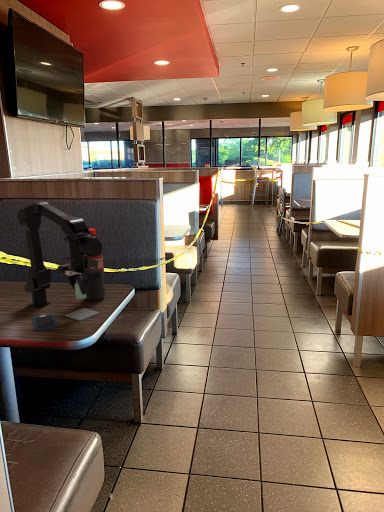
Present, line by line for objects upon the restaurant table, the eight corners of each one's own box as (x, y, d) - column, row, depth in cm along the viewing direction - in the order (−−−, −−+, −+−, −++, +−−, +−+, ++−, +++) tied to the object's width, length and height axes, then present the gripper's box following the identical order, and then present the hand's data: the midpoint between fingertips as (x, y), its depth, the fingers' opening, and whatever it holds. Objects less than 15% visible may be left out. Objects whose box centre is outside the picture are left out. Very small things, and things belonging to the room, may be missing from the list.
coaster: (65, 316, 149) (65, 314, 149) (84, 309, 156) (84, 307, 156) (80, 321, 144) (80, 319, 144) (99, 313, 151) (99, 312, 151)
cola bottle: (81, 300, 166) (75, 230, 160) (92, 294, 174) (87, 227, 168) (99, 302, 164) (94, 230, 157) (109, 295, 172) (104, 227, 165)
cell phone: (52, 315, 152) (52, 313, 152) (57, 328, 140) (57, 326, 139) (32, 318, 149) (32, 316, 149) (35, 332, 136) (35, 330, 136)
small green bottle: (73, 297, 148) (72, 279, 147) (81, 295, 151) (80, 276, 150) (80, 299, 146) (78, 280, 145) (87, 296, 149) (86, 278, 148)
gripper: (111, 252, 146) (113, 292, 149) (78, 246, 157) (81, 284, 160) (86, 257, 137) (90, 300, 141) (54, 251, 148) (58, 291, 151)
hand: (80, 293), depth 148 cm, fingers closed on small green bottle, 4 cm apart
